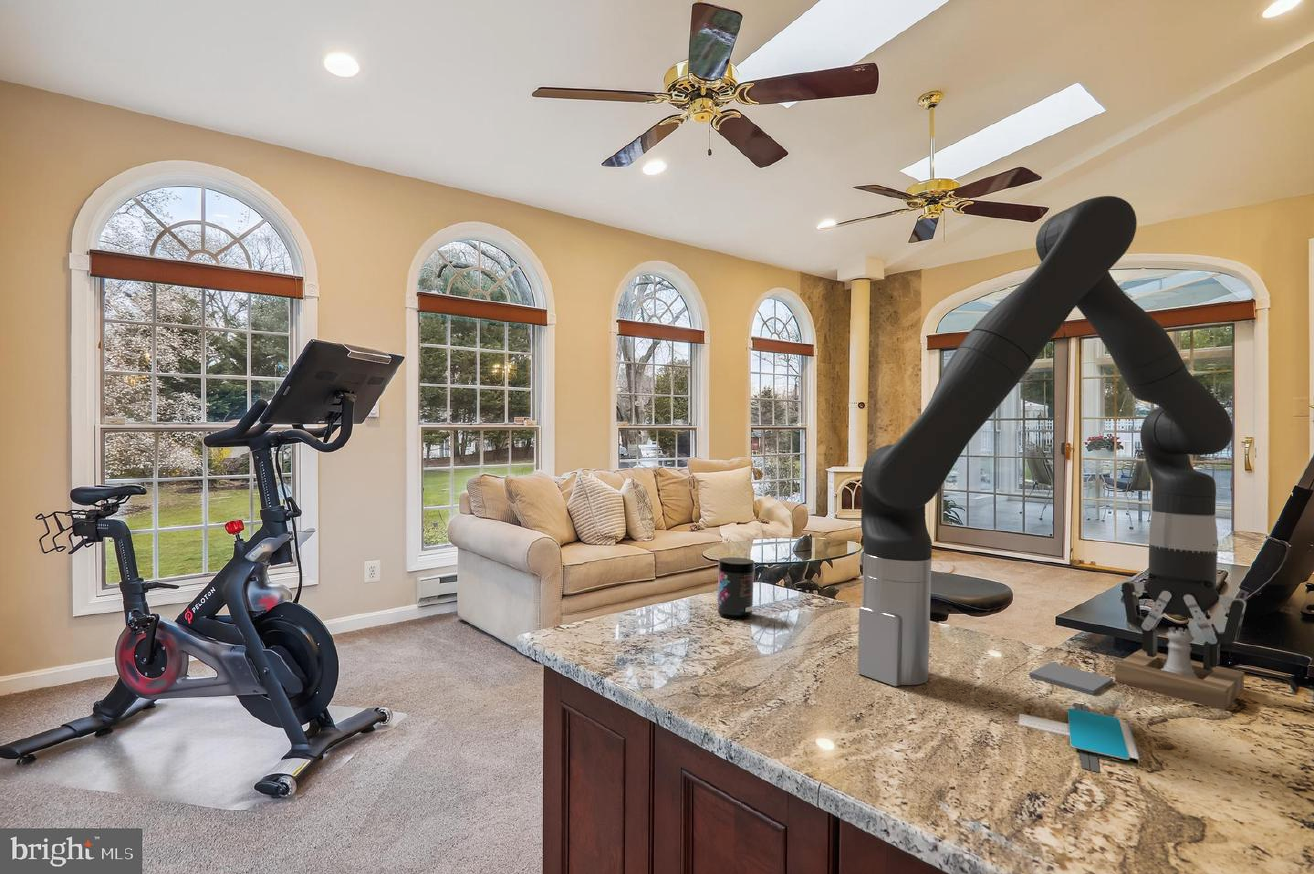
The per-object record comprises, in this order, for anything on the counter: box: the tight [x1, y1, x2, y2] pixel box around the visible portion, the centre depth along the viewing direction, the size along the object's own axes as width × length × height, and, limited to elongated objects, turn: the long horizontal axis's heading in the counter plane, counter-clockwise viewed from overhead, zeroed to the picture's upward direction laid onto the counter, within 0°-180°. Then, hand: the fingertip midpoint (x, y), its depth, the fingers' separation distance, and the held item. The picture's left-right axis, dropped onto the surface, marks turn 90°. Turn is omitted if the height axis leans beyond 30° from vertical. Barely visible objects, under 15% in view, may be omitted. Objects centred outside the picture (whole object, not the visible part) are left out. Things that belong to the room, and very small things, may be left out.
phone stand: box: [1018, 702, 1145, 773], centre depth 74 cm, size 20×12×2 cm, turn 149°
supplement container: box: [717, 556, 755, 620], centre depth 121 cm, size 7×7×10 cm
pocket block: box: [1114, 648, 1245, 711], centre depth 91 cm, size 12×12×2 cm
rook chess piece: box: [1161, 626, 1198, 678], centre depth 91 cm, size 4×4×8 cm
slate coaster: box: [1028, 661, 1114, 696], centre depth 92 cm, size 8×8×1 cm
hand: (1179, 661), depth 91 cm, fingers open, 5 cm apart
